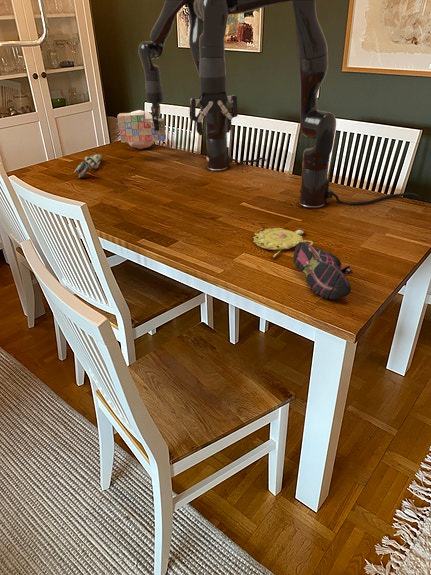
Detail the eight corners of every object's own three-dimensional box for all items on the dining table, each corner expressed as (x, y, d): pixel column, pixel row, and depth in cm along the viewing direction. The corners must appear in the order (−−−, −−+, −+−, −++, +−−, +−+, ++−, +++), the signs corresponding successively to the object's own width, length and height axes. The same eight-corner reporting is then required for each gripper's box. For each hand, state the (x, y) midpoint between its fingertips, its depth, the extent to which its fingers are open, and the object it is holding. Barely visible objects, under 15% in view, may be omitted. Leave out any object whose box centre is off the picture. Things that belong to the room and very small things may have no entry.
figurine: (78, 158, 192) (99, 144, 218) (67, 172, 195) (90, 156, 221) (91, 170, 194) (110, 155, 220) (80, 183, 197) (101, 166, 224)
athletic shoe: (337, 289, 105) (377, 281, 109) (296, 226, 117) (333, 221, 121) (320, 316, 114) (357, 308, 118) (283, 255, 126) (318, 250, 130)
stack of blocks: (166, 137, 217) (164, 111, 210) (165, 141, 211) (162, 114, 205) (122, 139, 217) (119, 112, 210) (120, 142, 211) (116, 115, 205)
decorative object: (267, 219, 151) (324, 228, 141) (267, 226, 152) (323, 235, 143) (237, 243, 137) (298, 255, 127) (238, 250, 138) (298, 263, 128)
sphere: (134, 159, 245) (115, 127, 242) (165, 142, 247) (146, 110, 244) (133, 150, 226) (112, 115, 223) (166, 132, 228) (146, 97, 226)
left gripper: (147, 88, 208) (151, 125, 217) (144, 93, 196) (148, 132, 205) (163, 88, 208) (166, 125, 217) (160, 93, 196) (164, 132, 205)
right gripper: (191, 77, 121) (194, 138, 129) (240, 74, 124) (240, 133, 133) (185, 74, 127) (188, 132, 136) (232, 71, 130) (232, 128, 139)
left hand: (157, 128), depth 211 cm, fingers closed on stack of blocks, 6 cm apart
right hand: (214, 133), depth 134 cm, fingers open, 8 cm apart
